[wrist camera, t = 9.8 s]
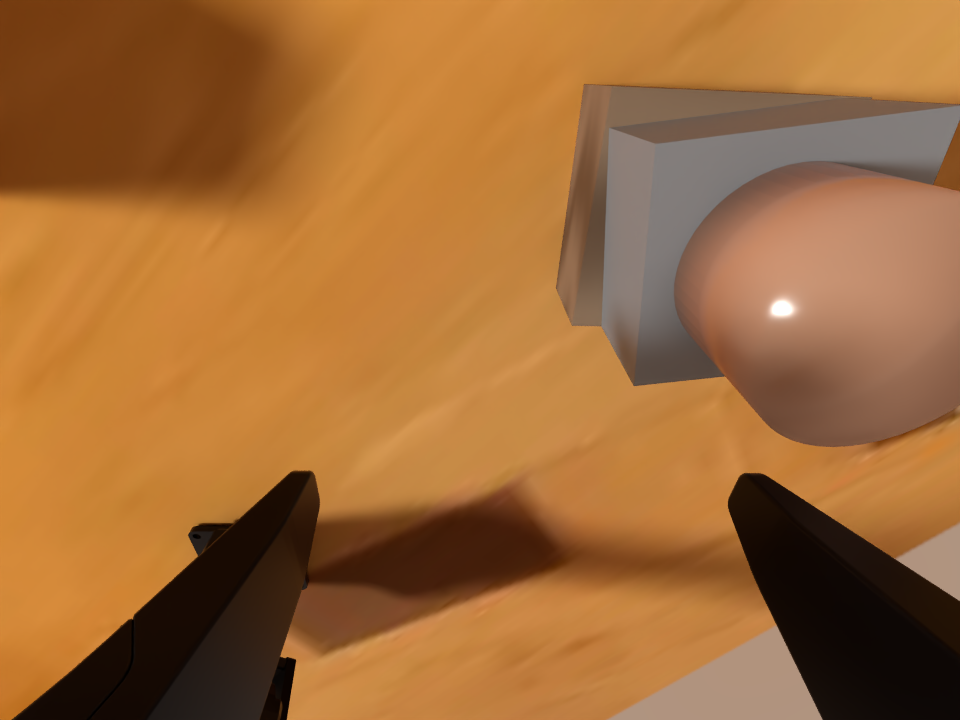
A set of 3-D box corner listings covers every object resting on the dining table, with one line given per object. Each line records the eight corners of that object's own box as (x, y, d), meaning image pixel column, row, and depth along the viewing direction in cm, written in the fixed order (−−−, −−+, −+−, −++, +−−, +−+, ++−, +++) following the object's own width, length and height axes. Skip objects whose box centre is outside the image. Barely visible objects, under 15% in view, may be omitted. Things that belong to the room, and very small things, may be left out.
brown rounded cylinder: (929, 162, 11) (1140, 200, 7) (830, 355, 14) (948, 446, 10) (705, 158, 11) (817, 196, 7) (653, 355, 14) (716, 447, 10)
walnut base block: (721, 289, 21) (770, 329, 18) (554, 285, 21) (571, 325, 17) (791, 93, 17) (872, 97, 14) (582, 84, 17) (611, 86, 13)
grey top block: (782, 306, 17) (860, 361, 14) (601, 326, 18) (633, 385, 14) (841, 97, 14) (965, 104, 10) (609, 127, 14) (655, 143, 10)
